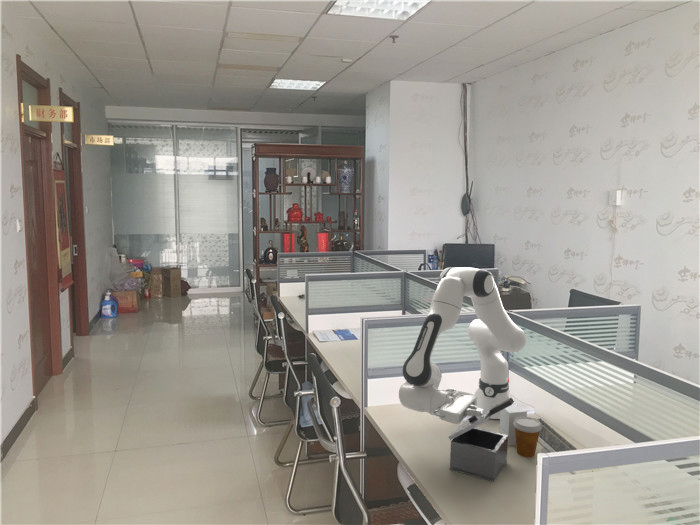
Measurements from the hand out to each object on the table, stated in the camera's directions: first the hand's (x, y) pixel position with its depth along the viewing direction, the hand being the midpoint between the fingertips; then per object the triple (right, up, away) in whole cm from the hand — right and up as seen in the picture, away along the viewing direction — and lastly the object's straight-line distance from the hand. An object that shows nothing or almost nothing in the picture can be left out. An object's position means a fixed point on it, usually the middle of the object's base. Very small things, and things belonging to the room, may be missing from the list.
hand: (481, 412), depth 190 cm
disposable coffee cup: (+19, -18, +12) cm, 29 cm away
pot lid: (+1, -2, 0) cm, 2 cm away
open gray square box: (-1, -19, +3) cm, 19 cm away
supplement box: (+17, -17, +23) cm, 33 cm away
